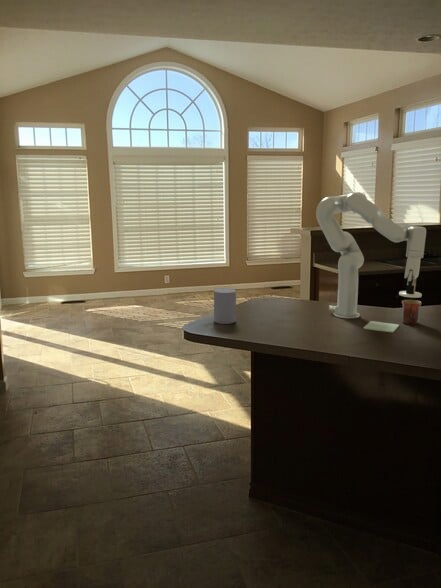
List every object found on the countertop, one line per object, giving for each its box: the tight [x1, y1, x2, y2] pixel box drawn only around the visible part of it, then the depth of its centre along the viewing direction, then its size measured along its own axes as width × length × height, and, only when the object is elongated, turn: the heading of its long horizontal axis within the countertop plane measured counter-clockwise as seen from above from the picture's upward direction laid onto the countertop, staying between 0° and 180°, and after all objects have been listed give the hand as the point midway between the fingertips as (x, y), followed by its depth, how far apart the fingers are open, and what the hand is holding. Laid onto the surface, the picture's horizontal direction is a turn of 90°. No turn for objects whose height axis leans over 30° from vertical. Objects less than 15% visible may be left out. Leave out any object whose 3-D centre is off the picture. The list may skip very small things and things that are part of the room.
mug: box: [401, 299, 422, 325], centre depth 244 cm, size 12×9×10 cm
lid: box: [398, 282, 423, 299], centre depth 242 cm, size 10×10×6 cm
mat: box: [363, 320, 400, 334], centre depth 239 cm, size 13×13×1 cm
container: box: [213, 287, 237, 325], centre depth 246 cm, size 10×10×15 cm
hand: (410, 292), depth 242 cm, fingers closed on lid, 3 cm apart
